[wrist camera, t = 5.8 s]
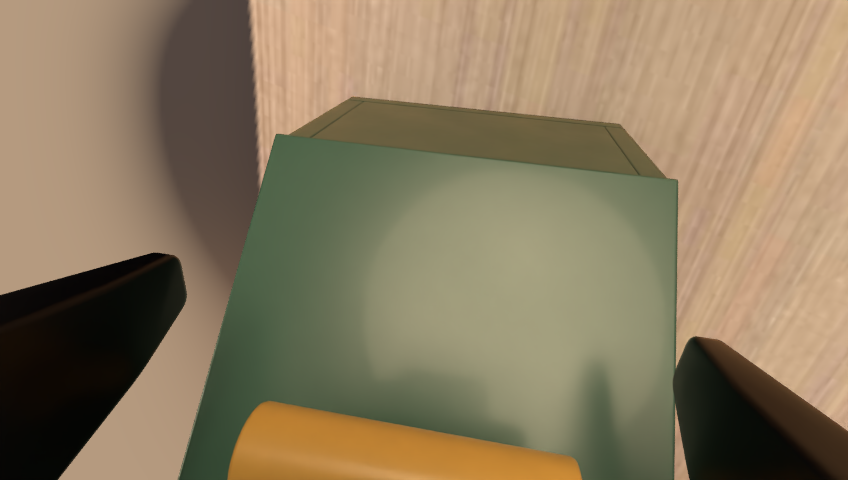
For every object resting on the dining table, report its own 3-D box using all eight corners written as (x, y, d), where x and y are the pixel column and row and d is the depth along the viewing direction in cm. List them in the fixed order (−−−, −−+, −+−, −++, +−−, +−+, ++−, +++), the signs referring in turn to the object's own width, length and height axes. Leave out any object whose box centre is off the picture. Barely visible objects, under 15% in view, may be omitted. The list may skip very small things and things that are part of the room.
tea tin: (548, 403, 24) (558, 520, 19) (352, 370, 26) (309, 470, 20) (620, 123, 18) (668, 178, 12) (351, 96, 19) (285, 135, 13)
